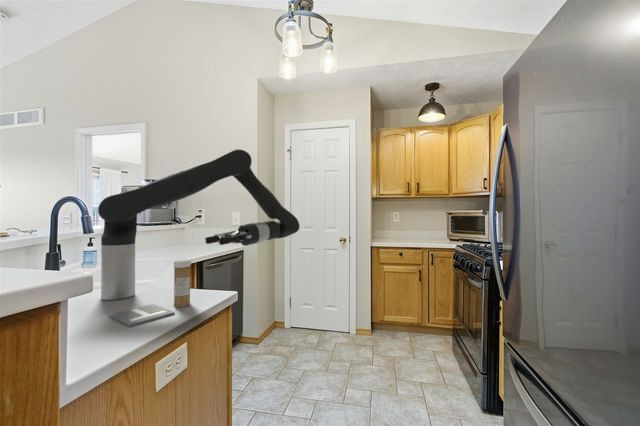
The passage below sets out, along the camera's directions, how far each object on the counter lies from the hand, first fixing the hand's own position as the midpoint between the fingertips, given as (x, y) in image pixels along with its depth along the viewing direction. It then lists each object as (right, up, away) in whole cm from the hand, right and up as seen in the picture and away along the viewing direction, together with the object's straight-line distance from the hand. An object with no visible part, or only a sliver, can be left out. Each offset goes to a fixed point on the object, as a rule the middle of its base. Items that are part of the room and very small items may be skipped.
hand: (212, 241), depth 93 cm
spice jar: (-6, -19, -7) cm, 21 cm away
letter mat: (-13, -18, -16) cm, 27 cm away
